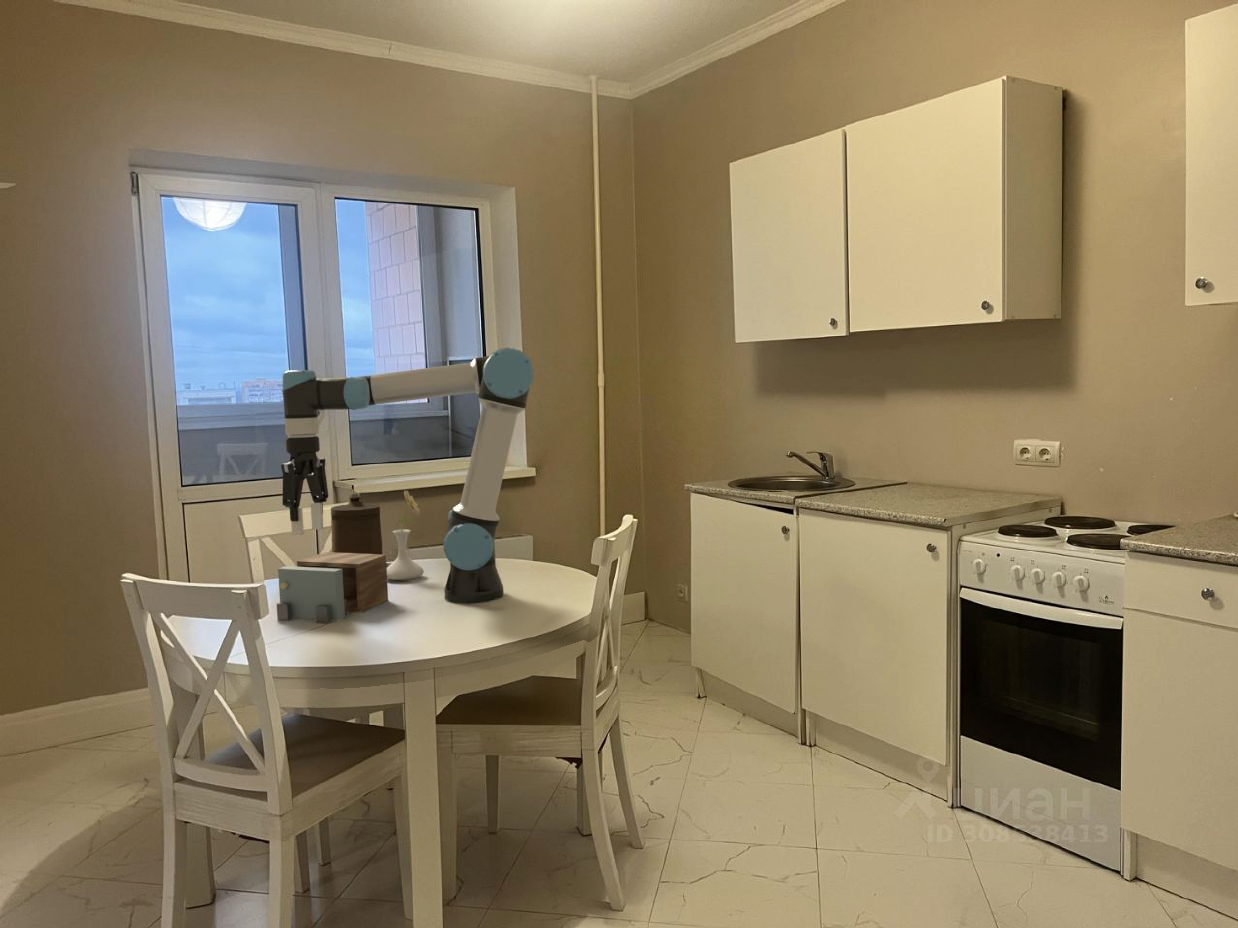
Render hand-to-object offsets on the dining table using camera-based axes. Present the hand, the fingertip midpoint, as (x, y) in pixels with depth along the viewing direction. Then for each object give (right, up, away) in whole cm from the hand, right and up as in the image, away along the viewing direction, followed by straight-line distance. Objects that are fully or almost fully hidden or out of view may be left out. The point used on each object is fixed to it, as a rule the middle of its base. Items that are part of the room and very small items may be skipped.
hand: (308, 531), depth 224 cm
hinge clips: (0, -21, +2) cm, 21 cm away
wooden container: (-6, -15, +65) cm, 67 cm away
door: (0, -21, +2) cm, 21 cm away
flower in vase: (+13, -17, +44) cm, 49 cm away
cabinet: (+4, -19, +14) cm, 25 cm away
